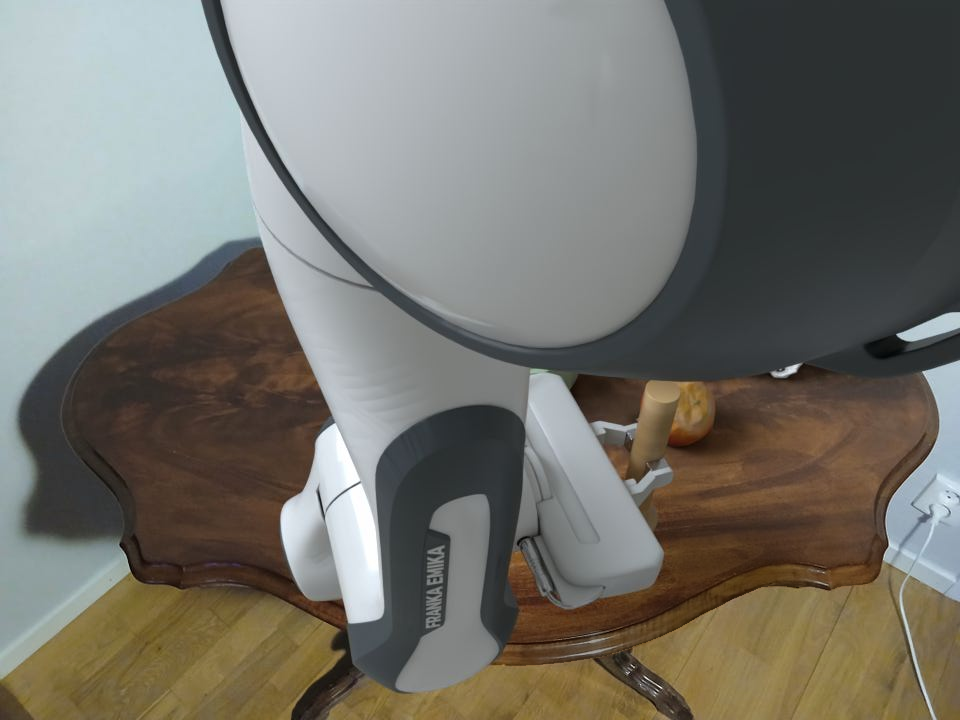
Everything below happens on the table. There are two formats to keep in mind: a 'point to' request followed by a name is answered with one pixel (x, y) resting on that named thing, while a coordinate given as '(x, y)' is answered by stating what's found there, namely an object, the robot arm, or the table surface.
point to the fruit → (691, 414)
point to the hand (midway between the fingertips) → (656, 451)
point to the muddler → (652, 436)
